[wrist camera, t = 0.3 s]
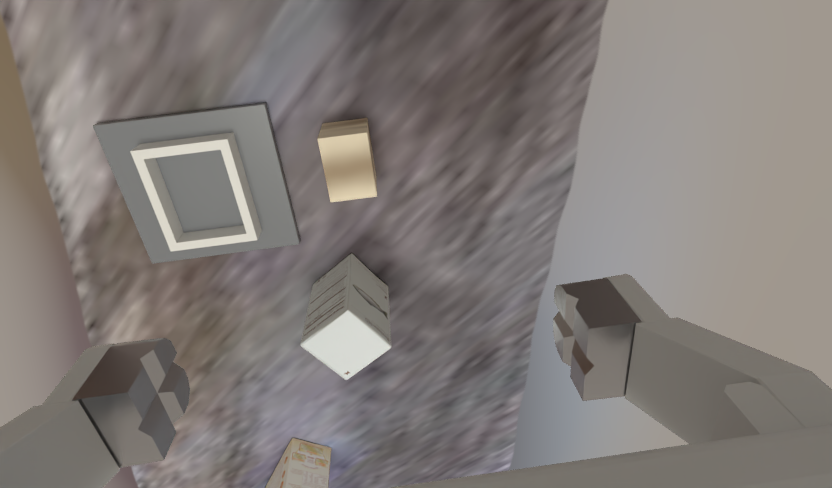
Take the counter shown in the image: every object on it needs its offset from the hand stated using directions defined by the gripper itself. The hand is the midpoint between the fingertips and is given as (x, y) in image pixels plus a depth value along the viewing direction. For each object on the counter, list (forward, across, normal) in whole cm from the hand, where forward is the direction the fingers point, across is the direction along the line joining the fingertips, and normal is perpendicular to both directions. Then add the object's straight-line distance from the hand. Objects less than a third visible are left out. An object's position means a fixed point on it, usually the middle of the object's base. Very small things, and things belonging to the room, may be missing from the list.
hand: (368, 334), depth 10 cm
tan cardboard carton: (+46, +4, +10) cm, 47 cm away
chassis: (+46, +21, +12) cm, 52 cm away
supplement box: (+46, +7, +28) cm, 55 cm away
